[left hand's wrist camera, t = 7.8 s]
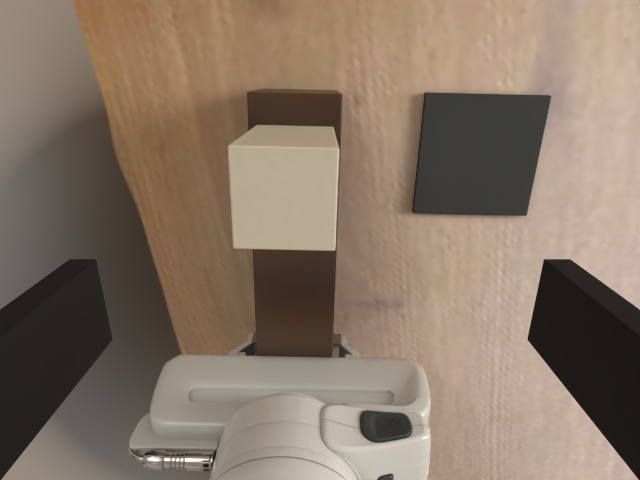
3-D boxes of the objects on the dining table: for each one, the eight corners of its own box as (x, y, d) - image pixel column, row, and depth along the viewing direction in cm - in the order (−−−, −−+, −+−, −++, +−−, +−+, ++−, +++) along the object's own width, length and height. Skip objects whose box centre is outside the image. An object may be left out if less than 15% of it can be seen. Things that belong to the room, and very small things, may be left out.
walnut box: (263, 88, 34) (246, 91, 26) (337, 90, 34) (342, 93, 26) (269, 358, 43) (258, 416, 36) (328, 359, 43) (329, 418, 36)
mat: (424, 92, 34) (426, 92, 34) (548, 95, 34) (551, 95, 34) (412, 211, 38) (413, 213, 37) (523, 213, 38) (526, 215, 37)
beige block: (256, 124, 27) (227, 145, 19) (333, 126, 27) (339, 148, 19) (258, 199, 29) (232, 249, 21) (331, 201, 29) (335, 251, 21)
